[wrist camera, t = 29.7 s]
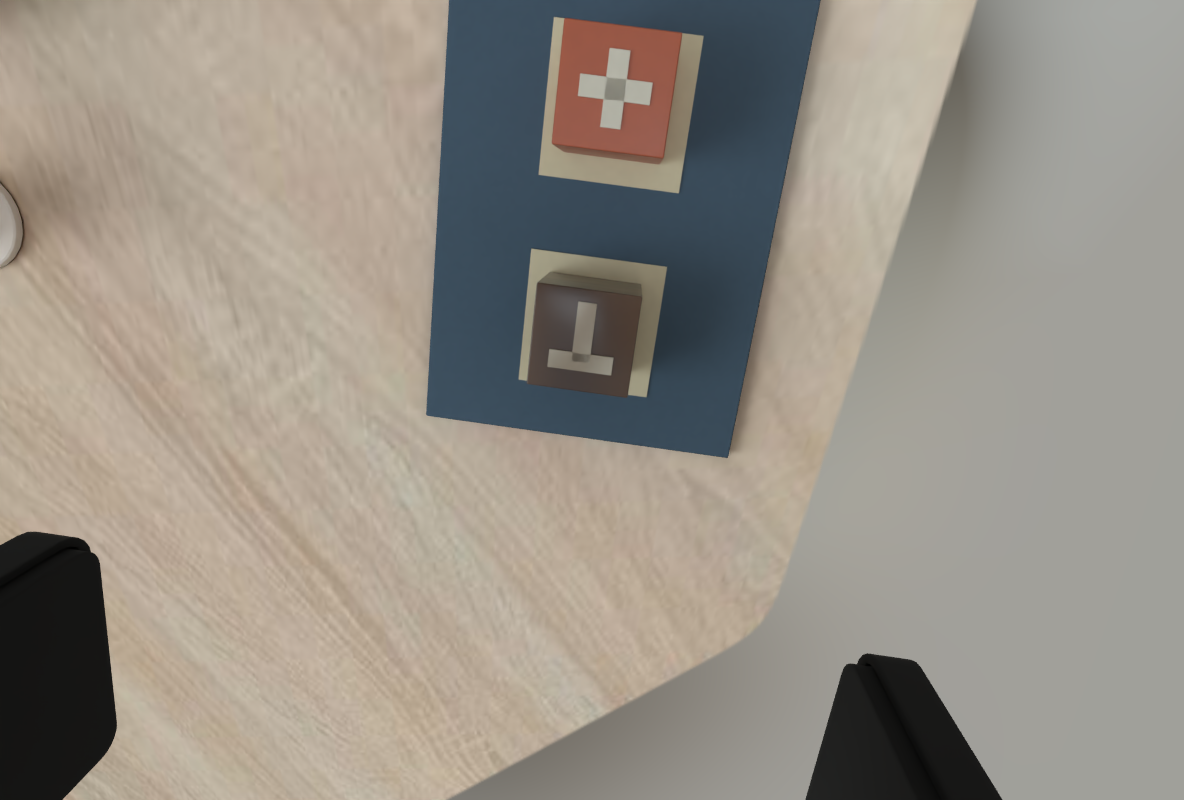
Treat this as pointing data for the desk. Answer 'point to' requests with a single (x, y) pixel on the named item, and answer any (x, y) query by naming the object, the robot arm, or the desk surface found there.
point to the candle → (9, 228)
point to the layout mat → (611, 215)
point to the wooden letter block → (584, 334)
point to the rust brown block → (615, 90)
